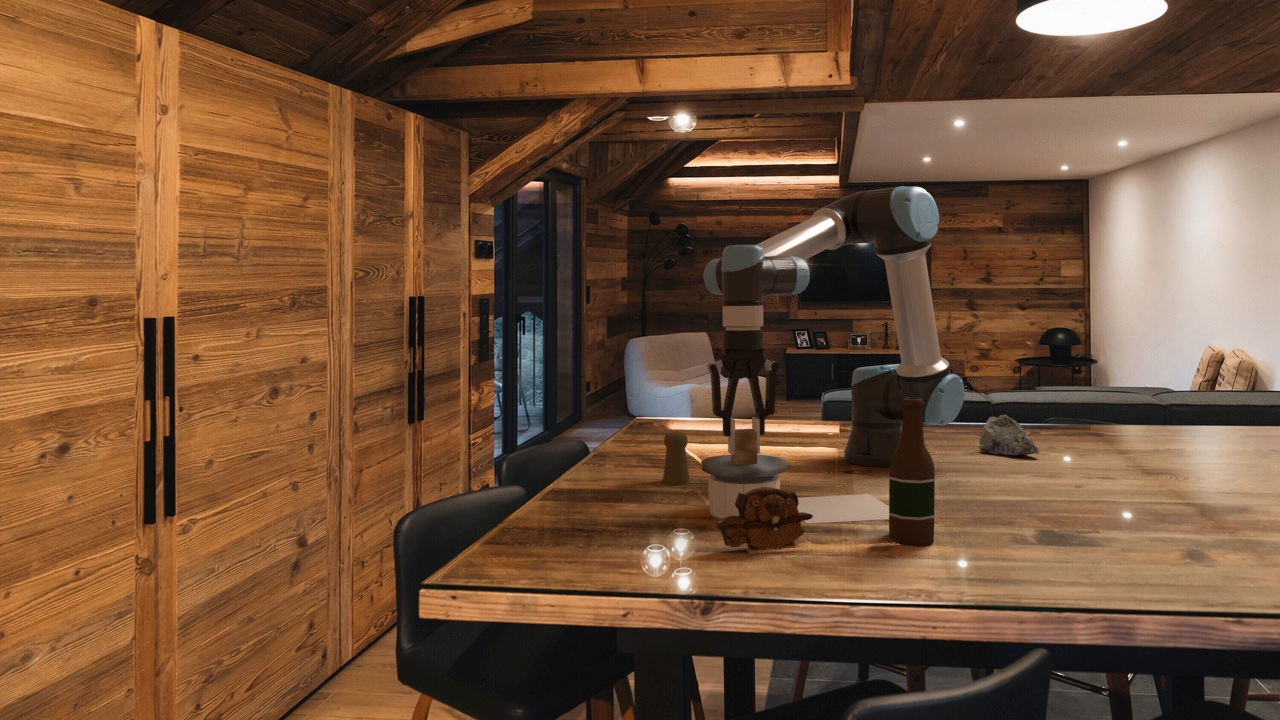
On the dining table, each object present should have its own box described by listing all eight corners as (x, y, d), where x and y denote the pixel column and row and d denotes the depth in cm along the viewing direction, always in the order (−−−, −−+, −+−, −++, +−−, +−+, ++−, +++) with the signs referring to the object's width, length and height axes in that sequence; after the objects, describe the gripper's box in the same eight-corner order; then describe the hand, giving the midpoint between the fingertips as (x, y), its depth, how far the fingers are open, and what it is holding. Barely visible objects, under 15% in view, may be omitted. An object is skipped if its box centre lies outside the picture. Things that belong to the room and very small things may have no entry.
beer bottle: (880, 534, 158) (881, 396, 156) (924, 533, 159) (926, 394, 157) (897, 547, 150) (898, 401, 148) (943, 545, 151) (945, 400, 149)
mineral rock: (1041, 460, 219) (1042, 418, 219) (997, 461, 219) (998, 419, 218) (1016, 450, 232) (1017, 410, 231) (974, 451, 232) (975, 411, 231)
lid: (773, 458, 182) (773, 422, 182) (798, 475, 167) (798, 435, 166) (694, 462, 180) (693, 425, 180) (711, 479, 165) (710, 439, 164)
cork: (687, 485, 198) (687, 435, 197) (660, 484, 200) (659, 434, 199) (692, 479, 204) (691, 430, 203) (665, 478, 205) (664, 430, 205)
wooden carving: (727, 558, 146) (726, 496, 145) (714, 550, 151) (714, 490, 150) (817, 546, 152) (817, 486, 151) (803, 539, 156) (803, 481, 155)
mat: (868, 497, 185) (868, 494, 185) (908, 521, 166) (908, 518, 166) (776, 501, 183) (776, 498, 183) (806, 526, 164) (806, 523, 164)
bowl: (768, 503, 182) (768, 468, 181) (787, 520, 169) (787, 482, 168) (703, 506, 180) (703, 471, 179) (717, 523, 167) (717, 485, 166)
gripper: (781, 326, 176) (782, 447, 178) (694, 328, 174) (695, 451, 176) (793, 328, 169) (793, 454, 171) (701, 330, 166) (703, 458, 169)
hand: (743, 452), depth 173 cm, fingers closed on lid, 4 cm apart
